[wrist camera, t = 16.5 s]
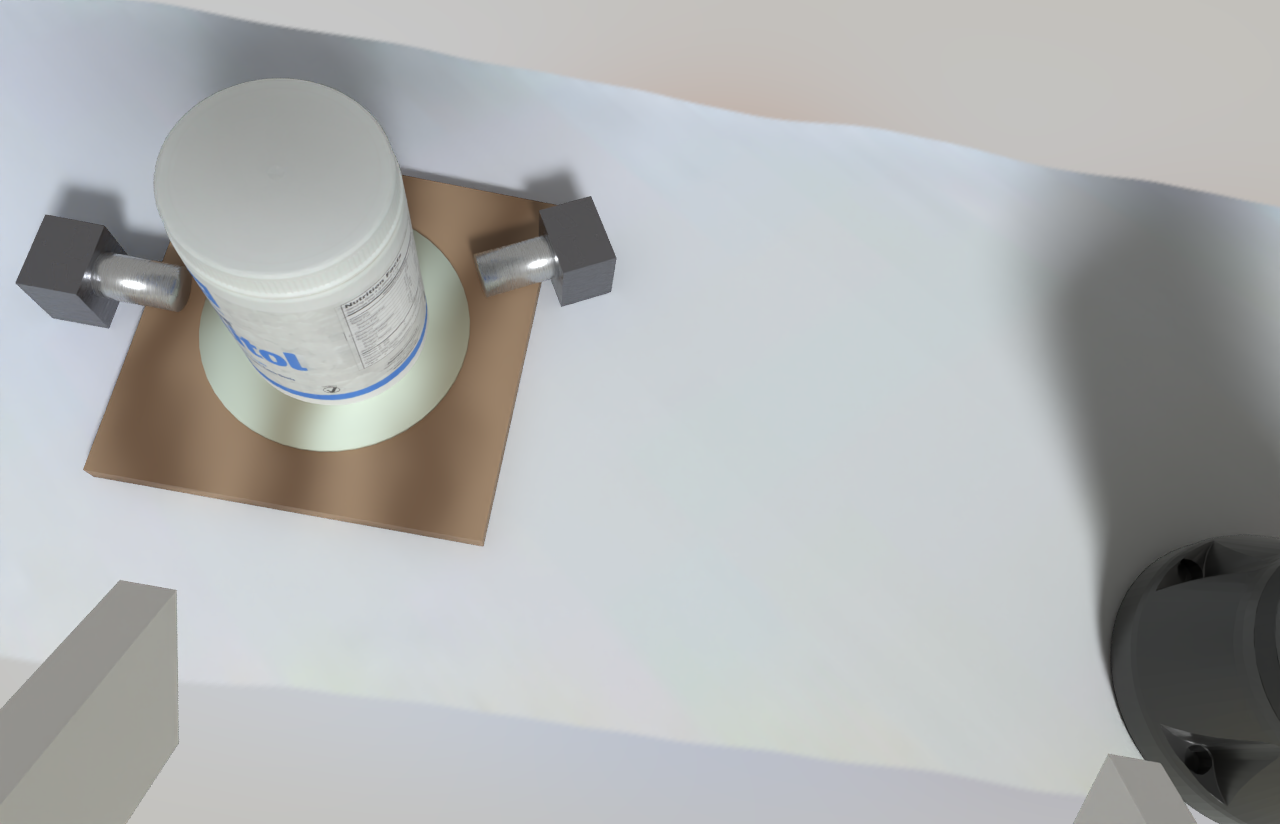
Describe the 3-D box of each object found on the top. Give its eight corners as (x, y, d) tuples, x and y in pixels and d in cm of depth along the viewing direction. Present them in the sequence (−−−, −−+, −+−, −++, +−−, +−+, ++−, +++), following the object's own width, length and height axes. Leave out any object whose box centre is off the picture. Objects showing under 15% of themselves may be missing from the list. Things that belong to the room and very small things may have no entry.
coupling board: (556, 216, 57) (556, 202, 56) (483, 546, 50) (481, 540, 49) (215, 150, 57) (207, 134, 55) (93, 476, 50) (80, 467, 48)
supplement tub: (210, 360, 51) (88, 209, 37) (311, 220, 54) (235, 34, 40) (373, 443, 50) (312, 321, 36) (466, 297, 53) (442, 134, 40)
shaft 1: (207, 277, 54) (182, 240, 50) (183, 342, 52) (156, 309, 49) (79, 253, 54) (45, 214, 50) (52, 317, 52) (15, 283, 48)
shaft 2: (493, 326, 55) (490, 294, 51) (471, 265, 56) (467, 229, 52) (611, 291, 56) (616, 257, 52) (587, 233, 57) (591, 196, 53)
